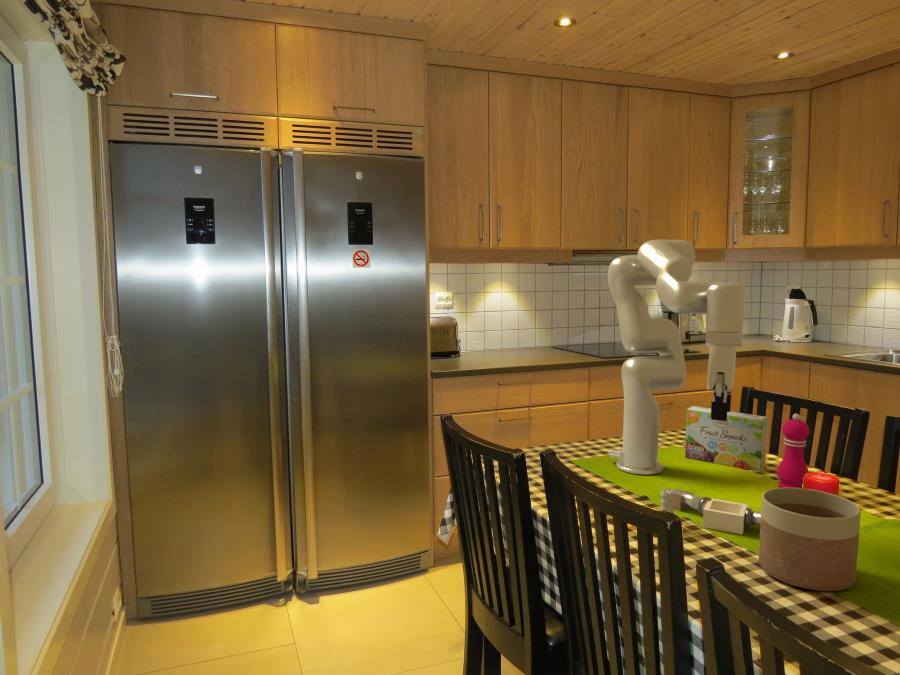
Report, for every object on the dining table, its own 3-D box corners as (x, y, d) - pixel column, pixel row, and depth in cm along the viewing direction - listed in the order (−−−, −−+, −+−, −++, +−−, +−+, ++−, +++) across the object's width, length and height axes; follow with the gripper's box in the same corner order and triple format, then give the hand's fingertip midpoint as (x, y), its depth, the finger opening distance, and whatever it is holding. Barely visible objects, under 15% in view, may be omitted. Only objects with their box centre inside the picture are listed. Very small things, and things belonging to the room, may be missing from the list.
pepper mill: (812, 497, 161) (817, 417, 159) (780, 495, 162) (785, 416, 160) (802, 487, 168) (807, 411, 166) (772, 485, 169) (776, 409, 167)
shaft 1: (713, 515, 149) (714, 496, 149) (700, 519, 147) (701, 500, 147) (682, 503, 157) (683, 485, 156) (669, 506, 155) (670, 488, 154)
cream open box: (702, 527, 143) (703, 509, 142) (708, 514, 150) (709, 498, 149) (742, 534, 139) (743, 516, 138) (746, 521, 146) (747, 504, 145)
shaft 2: (743, 531, 140) (744, 511, 140) (745, 524, 144) (746, 504, 144) (790, 540, 136) (791, 519, 135) (791, 532, 140) (792, 512, 139)
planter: (819, 603, 111) (824, 525, 110) (739, 564, 125) (743, 495, 123) (874, 582, 118) (880, 508, 117) (793, 548, 132) (797, 482, 131)
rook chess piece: (652, 522, 146) (654, 487, 145) (672, 521, 146) (673, 486, 145) (660, 530, 141) (662, 494, 140) (680, 529, 142) (682, 493, 141)
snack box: (683, 458, 193) (686, 408, 192) (690, 454, 198) (693, 405, 196) (760, 473, 180) (763, 419, 178) (766, 468, 184) (769, 415, 182)
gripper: (709, 335, 153) (706, 406, 155) (701, 342, 138) (698, 421, 140) (744, 336, 150) (741, 409, 152) (740, 344, 135) (736, 425, 136)
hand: (720, 415), depth 146 cm, fingers open, 9 cm apart
